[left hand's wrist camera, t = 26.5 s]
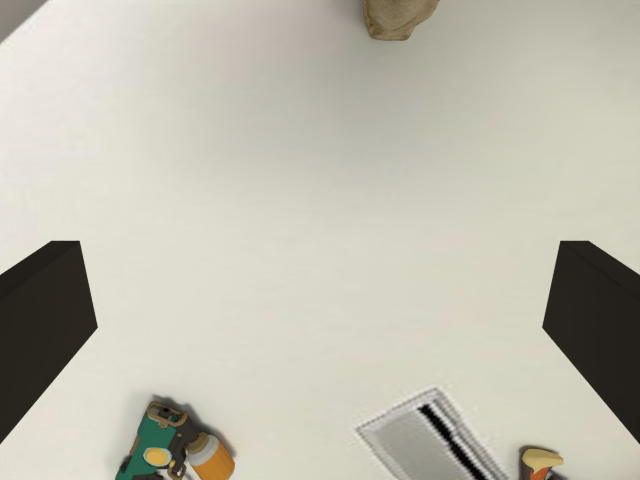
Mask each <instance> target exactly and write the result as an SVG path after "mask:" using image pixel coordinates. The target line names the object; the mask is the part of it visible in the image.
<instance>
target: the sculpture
mask: <svg viewBox="0 0 640 480" xmlns="http://www.w3.org/2000/svg"><path fill="white" fill-rule="evenodd" d="M439 1H440V0H363V5H364V17H365V22H366V26H367V29H368V33H369V35H370V37H371V38H374V39H380V40H407V39H408V38H409V37H410V35H411V33H412V31H413V30H414V28H415V26H416V25H418V24H419V23H421V22H423V21H424V20H426V19H427V18H429V17H430V16H431V15H432V14H433V12H434V10H435V9H436V7H437V5H438V3H439Z"/></svg>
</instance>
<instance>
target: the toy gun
mask: <svg viewBox="0 0 640 480" xmlns="http://www.w3.org/2000/svg"><path fill="white" fill-rule="evenodd" d="M522 460H523V468H522V474H523V480H545V477H546V474H547V473H548V471H549V470H550V469H551V468H552V467H553V466H558V465H562V464H563V458H562V457H560V456H559V455H556V454H554V453H551V452H548V451H544V450H540V449H528V450H527V451H526V452H525V453H524V455H523V457H522ZM547 480H561V479H559V478H558V477H556V476H555V475H551V476H550V477H549V478H548V479H547Z"/></svg>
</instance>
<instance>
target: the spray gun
mask: <svg viewBox="0 0 640 480" xmlns="http://www.w3.org/2000/svg"><path fill="white" fill-rule="evenodd" d="M152 406H157V407H159V408H161V409H160V410H158V409H155V408H151V407H152ZM150 408H151V409H150ZM172 413H173V414H176V415H178V416H181V417H180V418H179V419H177V417H176V415H173V416H171V415H172ZM182 415H183V416H182ZM186 442H188V444H187V451H188V456H187V455H186V453H185V450H184V447H183V446H184V444H185V443H186ZM186 456H187V457H188V460H189V463H190V465H191V466H192V468H193V469H194V470H195V472H196V473H197V474H198V476H199V477H200V479H201V480H229V478H230V477H231V476H232V474H233V472H234V469H235V462H234V460H233V459H232V457H231V456H230V455H229V453H228V452H227V451H226V449H225V448H224V447H223V445H222V444H221V443H220V441H219V440H218V439H217V438H216V437H214V436H212V435H207V433H205V432H201V433H199V432H198V431H197V429H196V427H195V426H194V424H193V423H192V421H191V420H190V418H189V416H188V415H187V413H186V412H185V411H184V412H178V411H176V410H173V409H171V408H169V407H166V406H164V405H162V404H159V403H157V402H152V403H151V404H150V405H149V407H148V409H147V411H146V413H145V415H144V417H143V419H142V421H141V424H140V426H139V428H138V436H137V438H136V440H135V442H134V445H133V447H132V449H131V451H130V457H129V459H128V461H127V462H124V463H123V464H122V465H121V467H120V469H119V471H118V473H117V475H116V478H115V480H162V479H163V478H164V477H163V476H160V475H158V474H157V473H156V472H155V471H156V469H168V471H167V473H168V475H169V476H170V477H171V478H172V479H173V480H181V479H182V478H183V476H184V475H185V472H186V466H185V464H183V463H184V461H185V459H186ZM181 467H182V472H181V474H180V476H178V475H177V472H179V470H180V468H181ZM171 470H172V472H171Z"/></svg>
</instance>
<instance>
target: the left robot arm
mask: <svg viewBox="0 0 640 480" xmlns="http://www.w3.org/2000/svg"><path fill="white" fill-rule="evenodd" d="M97 328H98V326H97V321H96V317H95V312H94V307H93V302H92V297H91V293H90V288H89V283H88V278H87V274H86V269H85V264H84V259H83V255H82V250H81V245H80V241H50V242H49V243H47V244H46V245H44V246H43V247H41V248H40V249H38V250H37V251H35V252H34V253H32V254H31V255H29V256H28V257H26V258H25V259H23V260H22V261H20V262H19V263H17V264H16V265H14V266H13V267H11V268H10V269H8V270H7V271H5V272H4V273H2V274H1V275H0V444H1V443H2V442H3V440H4V439H5V438H6V437H7V436H8V434H9V433H10V432H11V431H12V430H13V428H14V427H15V426H16V425H17V424H18V422H19V421H20V420H21V419H22V418H23V416H24V415H25V414H26V413H27V412H28V410H29V409H30V408H31V407H32V406H33V404H34V403H35V402H36V401H37V400H38V399H39V397H40V396H41V395H42V394H43V393H44V391H45V390H46V389H47V388H48V387H49V385H50V384H51V383H52V382H53V381H54V379H55V378H56V377H57V376H58V375H59V373H60V372H61V371H62V370H63V369H64V367H65V366H66V365H67V364H68V363H69V361H70V360H71V359H72V358H73V357H74V355H75V354H76V353H77V352H78V351H79V349H80V348H81V347H82V346H83V345H84V343H85V342H86V341H87V340H88V339H89V338H90V336H91V335H92V334H93V333H94V332H95V330H96V329H97ZM542 328H543V329H544V330H545V332H546V333H547V334H548V335H549V336H550V338H551V339H552V340H553V341H554V342H555V343H556V345H557V346H558V347H559V348H560V349H561V351H562V352H563V353H564V354H565V355H566V357H567V358H568V359H569V360H570V361H571V363H572V364H573V365H574V366H575V367H576V369H577V370H578V371H579V372H580V373H581V375H582V376H583V377H584V378H585V379H586V381H587V382H588V383H589V384H590V385H591V387H592V388H593V389H594V390H595V391H596V393H597V394H598V395H599V396H600V397H601V399H602V400H603V401H604V402H605V403H606V404H607V406H608V407H609V408H610V409H611V410H612V412H613V413H614V414H615V415H616V416H617V418H618V419H619V420H620V421H621V422H622V424H623V425H624V426H625V427H626V428H627V430H628V431H629V432H630V433H631V434H632V436H633V437H634V438H635V439H636V440H637V442H638V443H639V444H640V275H639V274H638V273H636V272H635V271H633V270H632V269H630V268H629V267H627V266H626V265H624V264H623V263H621V262H620V261H618V260H617V259H615V258H614V257H612V256H611V255H609V254H608V253H606V252H605V251H603V250H602V249H600V248H599V247H597V246H596V245H594V244H593V243H591V242H590V241H560V245H559V250H558V255H557V259H556V264H555V269H554V274H553V278H552V283H551V288H550V293H549V297H548V302H547V307H546V312H545V317H544V321H543V326H542Z"/></svg>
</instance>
